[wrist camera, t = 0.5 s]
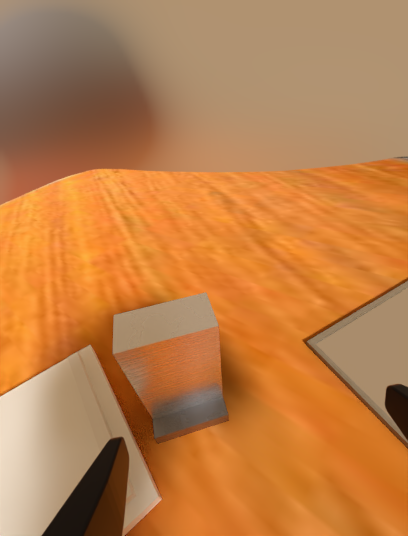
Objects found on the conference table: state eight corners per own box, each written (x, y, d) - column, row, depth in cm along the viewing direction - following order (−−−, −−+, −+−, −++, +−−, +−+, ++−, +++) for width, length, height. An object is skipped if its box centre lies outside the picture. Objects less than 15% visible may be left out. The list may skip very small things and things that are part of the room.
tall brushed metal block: (228, 420, 22) (226, 346, 14) (157, 443, 21) (111, 378, 13) (210, 361, 27) (201, 278, 19) (151, 378, 26) (114, 299, 18)
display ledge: (162, 499, 19) (154, 494, 17) (-69, 722, 13) (-118, 750, 11) (95, 351, 29) (86, 338, 27) (-52, 438, 23) (-75, 429, 21)
